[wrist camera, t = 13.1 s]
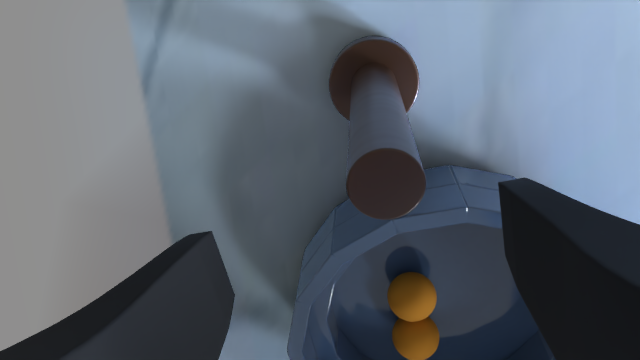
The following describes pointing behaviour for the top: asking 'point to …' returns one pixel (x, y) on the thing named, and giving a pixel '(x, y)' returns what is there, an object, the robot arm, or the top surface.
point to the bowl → (421, 257)
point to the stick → (379, 126)
